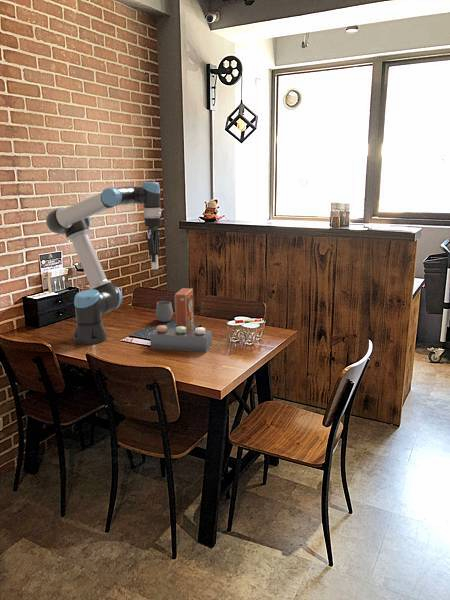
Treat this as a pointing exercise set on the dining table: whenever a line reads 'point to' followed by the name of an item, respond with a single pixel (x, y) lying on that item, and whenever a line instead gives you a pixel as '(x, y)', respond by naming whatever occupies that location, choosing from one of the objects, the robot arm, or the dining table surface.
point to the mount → (181, 340)
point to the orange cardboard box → (184, 308)
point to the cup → (164, 311)
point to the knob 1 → (162, 328)
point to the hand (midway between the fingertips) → (154, 268)
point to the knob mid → (180, 329)
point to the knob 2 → (200, 330)
